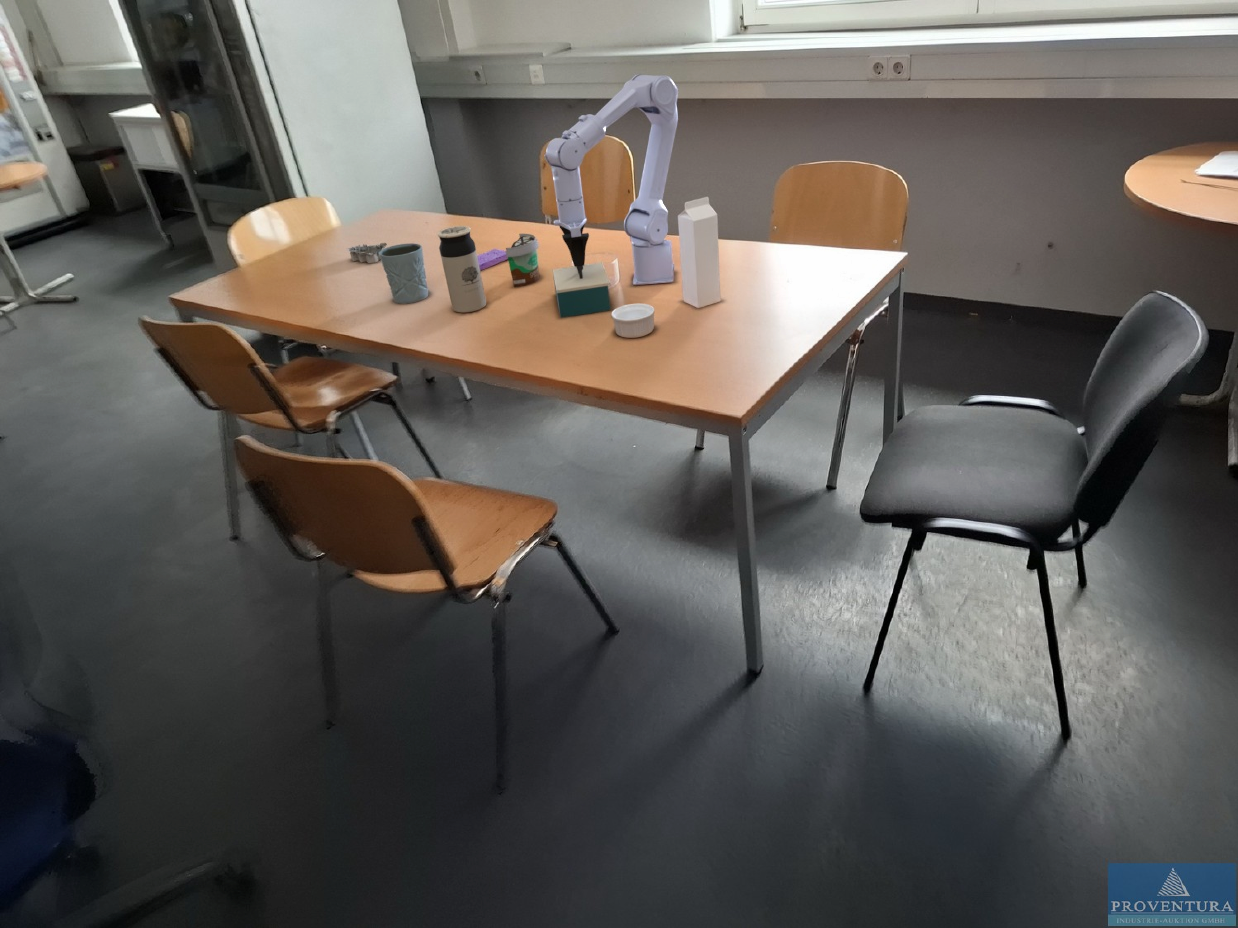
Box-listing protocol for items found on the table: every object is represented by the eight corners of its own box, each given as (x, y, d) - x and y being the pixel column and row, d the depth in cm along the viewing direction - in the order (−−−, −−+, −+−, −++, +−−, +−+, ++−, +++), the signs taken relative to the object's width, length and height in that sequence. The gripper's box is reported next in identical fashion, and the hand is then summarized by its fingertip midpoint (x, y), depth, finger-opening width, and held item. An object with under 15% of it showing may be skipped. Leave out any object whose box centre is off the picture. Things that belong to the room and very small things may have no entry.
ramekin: (623, 343, 164) (621, 323, 162) (606, 329, 172) (604, 309, 169) (663, 332, 167) (661, 312, 165) (644, 319, 174) (643, 299, 172)
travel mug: (449, 306, 194) (432, 230, 184) (481, 298, 196) (466, 223, 187) (457, 316, 187) (440, 238, 178) (490, 308, 190) (475, 230, 180)
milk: (720, 301, 178) (717, 199, 167) (697, 309, 176) (693, 205, 164) (704, 294, 183) (700, 194, 171) (682, 301, 181) (676, 200, 169)
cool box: (602, 288, 193) (600, 265, 190) (610, 310, 181) (607, 286, 178) (556, 295, 192) (552, 272, 189) (560, 317, 180) (557, 293, 177)
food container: (536, 288, 198) (529, 247, 193) (512, 289, 199) (505, 248, 194) (549, 271, 208) (543, 231, 203) (526, 271, 210) (519, 233, 204)
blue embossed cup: (383, 304, 200) (370, 256, 194) (405, 289, 208) (394, 242, 202) (418, 305, 196) (406, 256, 190) (440, 290, 204) (429, 242, 198)
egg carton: (391, 257, 234) (388, 243, 232) (370, 265, 229) (366, 251, 227) (369, 252, 240) (365, 238, 238) (347, 260, 235) (344, 246, 233)
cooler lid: (602, 265, 190) (600, 248, 188) (610, 285, 178) (608, 268, 176) (552, 272, 189) (550, 255, 187) (557, 293, 177) (554, 276, 175)
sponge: (512, 258, 220) (511, 251, 219) (475, 272, 213) (473, 265, 212) (496, 254, 225) (494, 248, 224) (459, 268, 218) (457, 261, 217)
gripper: (548, 193, 180) (557, 253, 187) (553, 209, 168) (562, 273, 175) (580, 188, 181) (588, 249, 188) (587, 204, 168) (594, 268, 176)
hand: (577, 260), depth 182 cm, fingers open, 7 cm apart
